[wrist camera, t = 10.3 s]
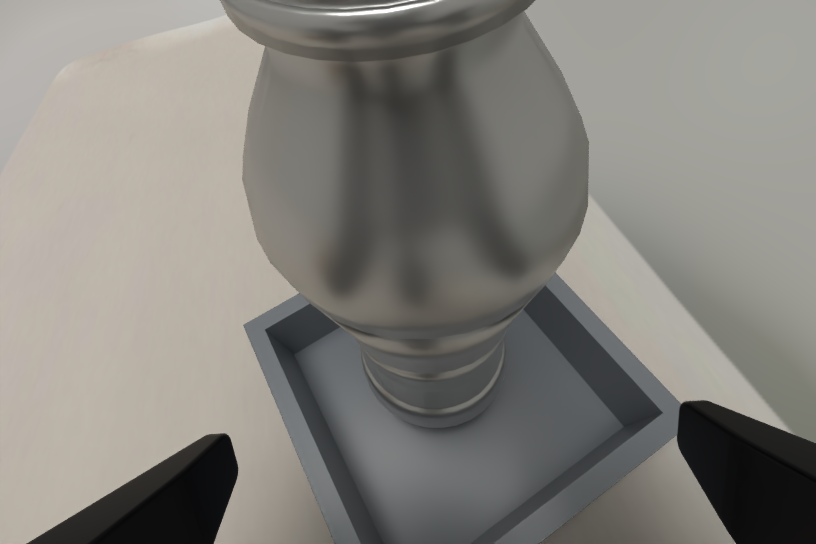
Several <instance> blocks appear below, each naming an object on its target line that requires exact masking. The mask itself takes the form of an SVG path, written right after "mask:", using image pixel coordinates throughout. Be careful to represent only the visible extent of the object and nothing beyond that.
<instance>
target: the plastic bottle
mask: <svg viewBox="0 0 816 544" xmlns="http://www.w3.org/2000/svg"><path fill="white" fill-rule="evenodd" d="M220 1H221V3H222V5H223V7H224V10H225V12H226V14H227V16H228V17H229V18H230V19H231V21H232V22H233V23H234V24H235V26H236V27H237V28H238V29H239V31H241V32H242V33H244V34H245V35H247V36H248V37H250V38H251V39H253V40H254V41H256V42H257V43H259V44H261V45H264V46H265V49H264V53H263V57H262V61H261V64H260V68H259V72H258V76H257V79H256V83H255V87H254V91H253V95H252V98H251V102H250V106H249V110H248V118H247V127H246V135H245V143H244V152H243V175H242V180H243V184H244V188H245V192H246V196H247V200H248V205H249V209H250V213H251V217H252V221H253V225H254V229H255V233H256V237H257V240H258V241H259V243H260V245H261V247H262V249H263V250H264V252H265V254H266V256H267V258H268V259H269V261H270V263H271V264H272V265H273V266H274V267H275V268H276V269H277V270H278V271H279V273H280V274H281V275H282V276H283V277H284V278H285V279H286V280H287V281H288V282H289V283H290V284H291V285H292V286H293V287H294V288H295V289H296V290H297V291H298V292H299V293H300V294H301V295H302V296H303V297H304V298H305V299H306V300H307V302H308V303H310V304H311V305H313V306H314V307H316V308H317V309H318V310H319V311H321V312H322V313H323V314H325V315H326V316H327V317H329V318H330V319H331V320H333V321H334V322H335V323H337V324H338V325H339V326H340V327H342V328H343V329H344V330H346V331H347V332H348V333H350V335H351V336H352V337H353V338H354V340H355V341H356V342H357V343H358V344H359V346H360V348H361V349H360V351H361V359H362V365H363V370H364V373H365V376H366V379H367V382H368V385H369V387H370V388H371V390H372V392H373V394H374V395H375V397H376V398H377V399H378V401H379V402H380V403H381V404H382V405H383V406H384V407H385V408H386V409H387V410H388V411H390V412H391V413H392V414H394V415H395V416H397V417H398V418H400V419H402V420H404V421H406V422H409V423H411V424H414V425H418V426H422V427H426V428H445V427H451V426H457V425H459V424H462V423H464V422H467V421H469V420H471V419H473V418H474V417H476V416H477V415H479V414H480V413H482V412H483V411H484V410H485V409H486V408H487V407H488V406H489V405H490V404H491V403H492V402H493V400H494V399H495V397H496V395H497V394H498V392H499V390H500V388H501V385H502V382H503V379H504V376H505V368H506V347H505V339H504V335H505V333H506V331H507V329H508V327H509V326H510V324H511V322H512V320H513V319H514V318H515V317H516V316H517V315H518V314H519V313H520V312H521V311H522V310H523V309H524V307H525V306H526V305H527V304H528V303H529V302H530V301H531V300H532V299H533V298H534V297H535V296H536V294H537V293H538V292H539V291H540V290H541V289H542V288H543V287H544V286H545V285H546V284H547V283H548V282H549V281H550V279H551V278H552V276H553V275H554V273H555V272H556V270H557V269H558V267H559V266H560V265H561V263H562V262H563V261H564V259H565V257H566V256H567V254H568V252H569V251H570V249H571V247H572V246H573V244H574V242H575V241H576V239H577V237H578V236H579V234H580V231H581V228H582V224H583V221H584V217H585V214H586V211H587V207H588V166H589V164H588V163H589V158H588V157H589V155H588V154H589V151H588V150H589V141H588V138H587V134H586V131H585V128H584V124H583V121H582V117H581V115H580V113H579V110H578V108H577V106H576V104H575V101H574V99H573V97H572V94H571V92H570V90H569V88H568V85H567V83H566V81H565V78H564V76H563V74H562V72H561V70H560V68H559V67H558V65H557V64H556V62H555V60H554V59H553V57H552V56H551V54H550V52H549V51H548V49H547V47H546V46H545V44H544V43H543V41H542V39H541V38H540V36H539V34H538V33H537V31H536V30H535V28H534V27H533V25H532V23H531V22H530V20H529V18H528V17H527V15H526V13H525V12H524V10H526V9H527V8H528V7H529V6H530V5H531V4H532V3H533V2H534V1H535V0H220Z"/></svg>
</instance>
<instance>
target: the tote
mask: <svg viewBox="0 0 816 544" xmlns="http://www.w3.org/2000/svg"><path fill="white" fill-rule="evenodd" d="M243 326H244V328H245V331H246V333H247V335H248V338H249V340H250V342H251V345H252V347H253V350H254V352H255V354H256V357H257V359H258V362H259V364H260V366H261V369H262V371H263V373H264V376H265V378H266V381H267V383H268V385H269V388H270V390H271V393H272V395H273V397H274V400H275V402H276V405H277V407H278V409H279V412H280V414H281V416H282V419H283V421H284V424H285V426H286V428H287V431H288V433H289V436H290V438H291V440H292V443H293V445H294V447H295V450H296V452H297V455H298V457H299V459H300V462H301V464H302V467H303V469H304V471H305V474H306V476H307V479H308V481H309V483H310V486H311V488H312V490H313V493H314V495H315V498H316V500H317V502H318V505H319V507H320V510H321V512H322V514H323V517H324V519H325V521H326V524H327V526H328V529H329V531H330V533H331V536H332V538H333V541H334V543H335V544H539V543H541V542H542V541H543V540H544V539H546V538H547V537H548V536H549V535H551V534H552V533H553V532H555V531H556V530H557V529H558V528H560V527H561V526H562V525H563V524H565V523H566V522H567V521H568V520H570V519H571V518H572V517H574V516H575V515H576V514H577V513H579V512H580V511H581V510H582V509H584V508H585V507H586V506H587V505H589V504H590V503H591V502H593V501H594V500H595V499H596V498H598V497H599V496H600V495H601V494H603V493H604V492H605V491H606V490H608V489H609V488H610V487H612V486H613V485H614V484H615V483H617V482H618V481H619V480H620V479H622V478H623V477H624V476H626V475H627V474H628V473H629V472H631V471H632V470H633V469H634V468H636V467H637V466H638V465H639V464H641V463H642V462H643V461H645V460H646V459H647V458H648V457H650V456H651V455H652V454H653V453H655V452H656V451H657V450H658V449H660V448H661V447H662V446H664V445H665V444H666V443H667V442H669V441H670V440H671V439H672V438H674V437H675V436H676V435H677V431H678V418H679V408H680V405H681V403H680V402H679V401H678V400H677V399H676V398H675V397H674V396H673V395H672V394H671V393H670V392H669V391H668V390H667V389H666V388H665V387H664V386H663V385H662V384H661V383H660V381H659V380H658V379H657V378H656V377H655V376H654V375H653V374H652V373H651V372H650V371H649V370H648V369H647V368H646V367H645V366H644V365H643V364H642V363H641V362H640V361H639V360H638V358H637V357H636V356H635V355H634V354H633V353H632V352H631V351H630V350H629V349H628V348H627V347H626V346H625V345H624V344H623V343H622V342H621V341H620V340H619V339H618V338H617V337H616V335H615V334H614V333H613V332H612V331H611V330H610V329H609V328H608V327H607V326H606V325H605V324H604V323H603V322H602V321H601V320H600V319H599V318H598V317H597V316H596V315H595V314H594V312H593V311H592V310H591V309H590V308H589V307H588V306H587V305H586V304H585V303H584V302H583V301H582V300H581V299H580V298H579V297H578V296H577V295H576V294H575V293H574V292H573V291H572V289H571V288H570V287H569V286H568V285H567V284H566V283H565V282H564V281H563V280H562V279H561V278H560V277H559V276H558V275H557V274H556V273H554V275H553V276H552V278H551V279H550V281H549V282H548V283H547V284H546V285H545V286H544V287H543V288H542V289H541V290H540V291H539V292H538V293H537V294H536V296H535V297H534V298H533V299H532V300H531V301H530V302H529V303H528V304H527V305H526V306H525V307H524V309H523V310H522V311H521V312H520V313H519V314H518V315H517V316H516V317H515V318H514V319H513V320H512V322H511V324H510V326H509V327H508V329H507V331H506V333H505V335H504V339H505V347H506V368H505V376H504V379H503V382H502V385H501V388H500V390H499V392H498V394H497V395H496V397H495V399H494V400H493V402H492V403H491V404H490V405H489V406H488V407H487V408H486V409H485V410H484V411H483V412H482V413H480V414H479V415H477V416H476V417H474V418H473V419H471V420H469V421H467V422H464V423H462V424H459V425H457V426H451V427H445V428H426V427H422V426H418V425H414V424H411V423H409V422H406V421H404V420H402V419H400V418H398V417H397V416H395V415H394V414H392V413H391V412H390V411H388V410H387V409H386V408H385V407H384V406H383V405H382V404H381V403H380V402H379V401H378V399H377V398H376V397H375V395H374V394H373V392H372V390H371V388H370V387H369V385H368V382H367V379H366V376H365V373H364V370H363V365H362V359H361V351H360V349H361V348H360V346H359V344H358V343H357V342H356V341H355V340H354V338H353V337H352V336H351V335H350V333H348V332H347V331H346V330H344V329H343V328H342V327H340V326H339V325H338V324H337V323H335V322H334V321H333V320H331V319H330V318H329V317H327V316H326V315H325V314H323V313H322V312H321V311H319V310H318V309H317V308H316V307H314V306H313V305H311V304H310V303H308V302H307V300H306V299H305V298H304V297H303V296H302V295H301V294H300V293H299V294H297V295H296V296H294V297H292V298H290V299H288V300H287V301H285V302H283V303H281V304H280V305H278V306H276V307H274V308H272V309H271V310H269V311H267V312H265V313H264V314H262V315H260V316H258V317H257V318H255V319H253V320H251V321H249V322H248V323H246V324H244V325H243Z"/></svg>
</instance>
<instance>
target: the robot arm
mask: <svg viewBox="0 0 816 544" xmlns="http://www.w3.org/2000/svg"><path fill="white" fill-rule="evenodd" d="M677 442H678V446H679V449H680V451H681V453H682V455H683V457H684V458H685V460H686V462H687V464H688V465H689V467H690V469H691V470H692V472H693V474H694V475H695V477H696V479H697V480H698V482H699V484H700V486H701V487H702V489H703V491H704V492H705V494H706V496H707V497H708V499H709V501H710V503H711V504H712V506H713V508H714V509H715V511H716V513H717V514H718V516H719V518H720V520H721V521H722V523H723V524H724V526H725V527H726V529H727V531H728V532H729V534H730V535H731V537H732V538H733V540H734V541H735V543H736V544H816V443H814V442H811V441H808V440H806V439H803V438H801V437H798V436H796V435H793V434H791V433H788V432H786V431H783V430H780V429H778V428H775V427H773V426H770V425H768V424H765V423H763V422H760V421H758V420H755V419H753V418H750V417H747V416H745V415H742V414H740V413H737V412H735V411H732V410H730V409H727V408H725V407H722V406H719V405H717V404H714V403H712V402H709V401H705V400H700V401H686V402H683V403H682V404H681V405H680V408H679V418H678V431H677ZM237 476H238V464H237V460H236V457H235V453H234V449H233V446H232V442H231V439H230V437H229V436H228V435H227V434H225V433H222V434H209V435H206V436H204V437H202V438H201V439H199V440H197V441H196V442H194V443H192V444H191V445H189V446H187V447H186V448H184V449H182V450H181V451H179V452H177V453H176V454H174V455H172V456H171V457H169V458H167V459H166V460H164V461H163V462H161V463H159V464H158V465H156V466H154V467H153V468H151V469H149V470H148V471H146V472H144V473H143V474H141V475H139V476H138V477H136V478H134V479H133V480H131V481H129V482H128V483H126V484H124V485H123V486H121V487H120V488H118V489H116V490H115V491H113V492H111V493H110V494H108V495H106V496H105V497H103V498H101V499H100V500H98V501H96V502H95V503H93V504H91V505H90V506H88V507H86V508H85V509H83V510H82V511H80V512H78V513H77V514H75V515H73V516H72V517H70V518H68V519H67V520H65V521H63V522H62V523H60V524H58V525H57V526H55V527H53V528H52V529H50V530H48V531H47V532H45V533H43V534H42V535H40V536H39V537H37V538H35V539H34V540H32V541H30V542H29V543H27V544H214V541H215V538H216V535H217V533H218V530H219V527H220V524H221V522H222V519H223V516H224V513H225V510H226V508H227V505H228V502H229V499H230V497H231V494H232V491H233V488H234V485H235V483H236V480H237Z"/></svg>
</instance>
